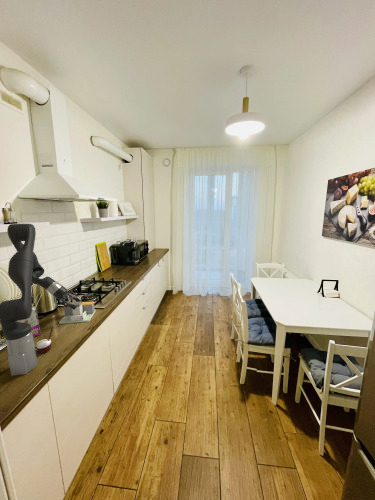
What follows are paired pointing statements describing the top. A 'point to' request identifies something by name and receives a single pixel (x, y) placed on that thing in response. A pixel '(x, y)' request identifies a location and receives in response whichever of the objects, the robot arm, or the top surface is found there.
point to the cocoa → (44, 344)
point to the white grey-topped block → (79, 308)
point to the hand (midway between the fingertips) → (78, 305)
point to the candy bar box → (33, 322)
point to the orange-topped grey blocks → (85, 317)
